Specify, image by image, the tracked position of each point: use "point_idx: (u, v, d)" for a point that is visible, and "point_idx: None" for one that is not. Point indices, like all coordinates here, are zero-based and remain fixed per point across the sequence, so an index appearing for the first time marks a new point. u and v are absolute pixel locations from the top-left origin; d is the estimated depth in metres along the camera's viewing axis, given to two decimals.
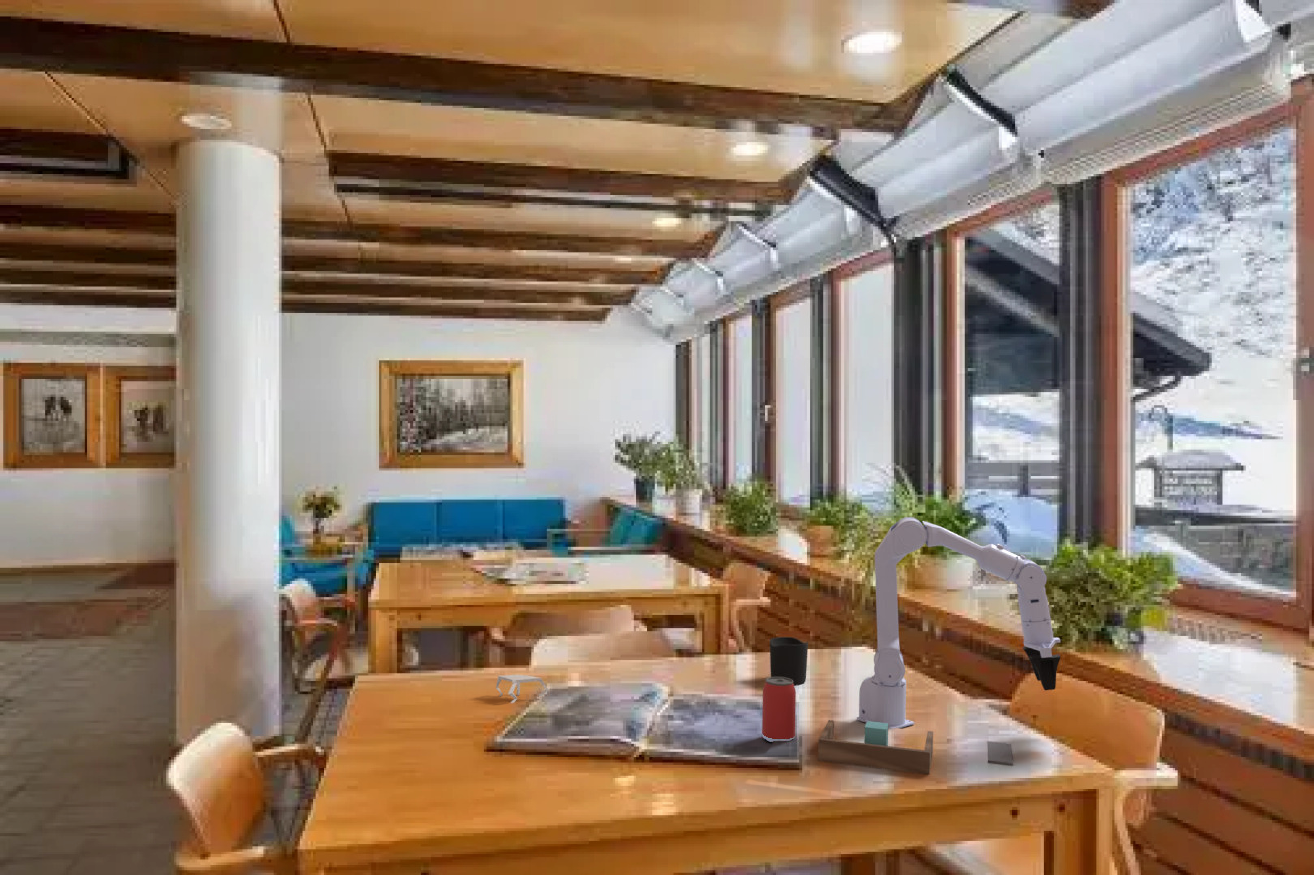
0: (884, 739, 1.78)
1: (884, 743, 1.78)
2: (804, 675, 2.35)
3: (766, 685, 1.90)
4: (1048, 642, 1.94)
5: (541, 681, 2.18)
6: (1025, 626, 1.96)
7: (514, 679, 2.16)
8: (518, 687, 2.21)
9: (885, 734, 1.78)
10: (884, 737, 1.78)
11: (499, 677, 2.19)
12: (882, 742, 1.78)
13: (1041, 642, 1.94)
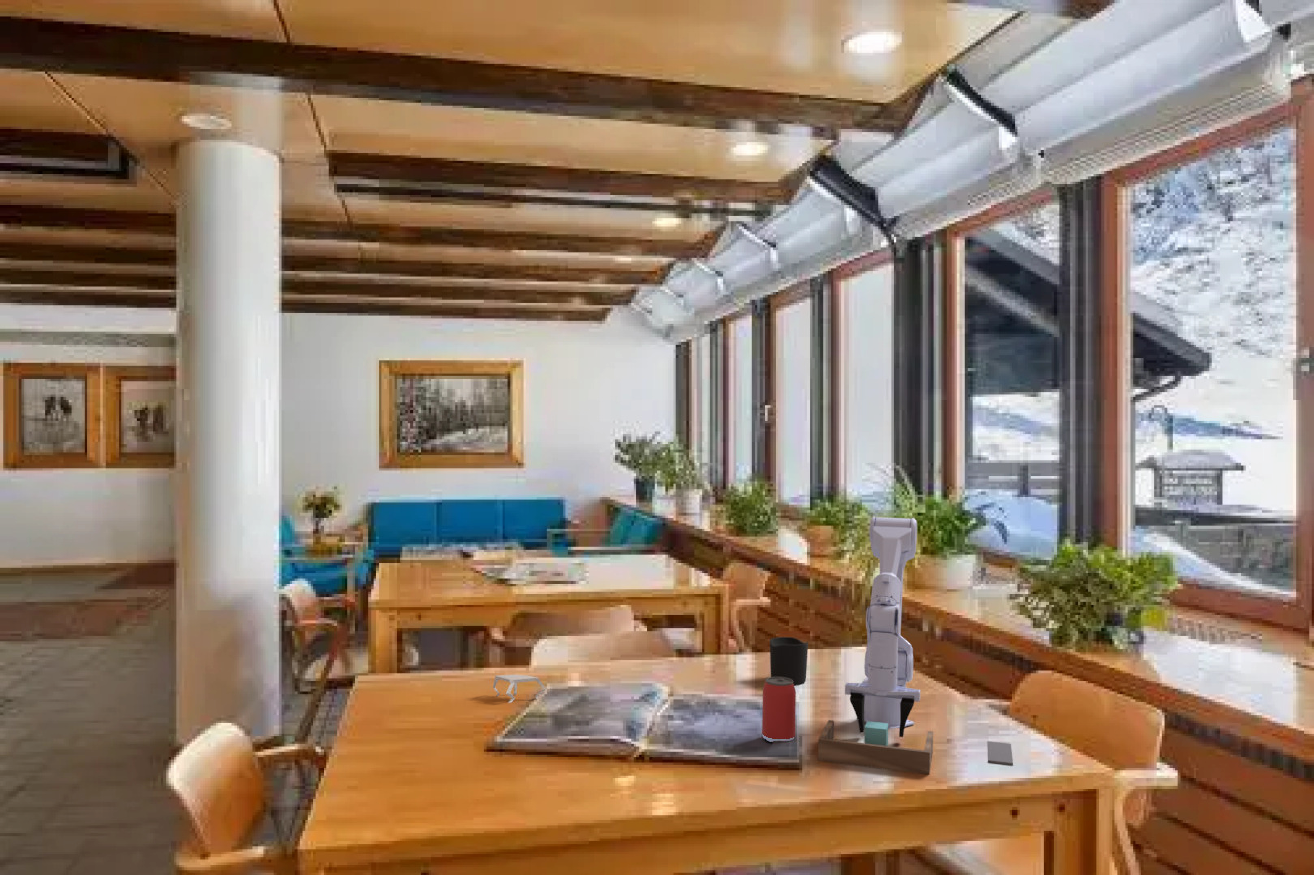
0: (884, 739, 1.78)
1: (884, 743, 1.78)
2: (804, 675, 2.35)
3: (766, 685, 1.90)
4: (868, 687, 1.89)
5: (538, 681, 2.18)
6: None
7: (511, 679, 2.16)
8: (515, 687, 2.21)
9: (885, 734, 1.78)
10: (884, 737, 1.78)
11: (496, 677, 2.19)
12: (882, 742, 1.78)
13: (867, 685, 1.91)
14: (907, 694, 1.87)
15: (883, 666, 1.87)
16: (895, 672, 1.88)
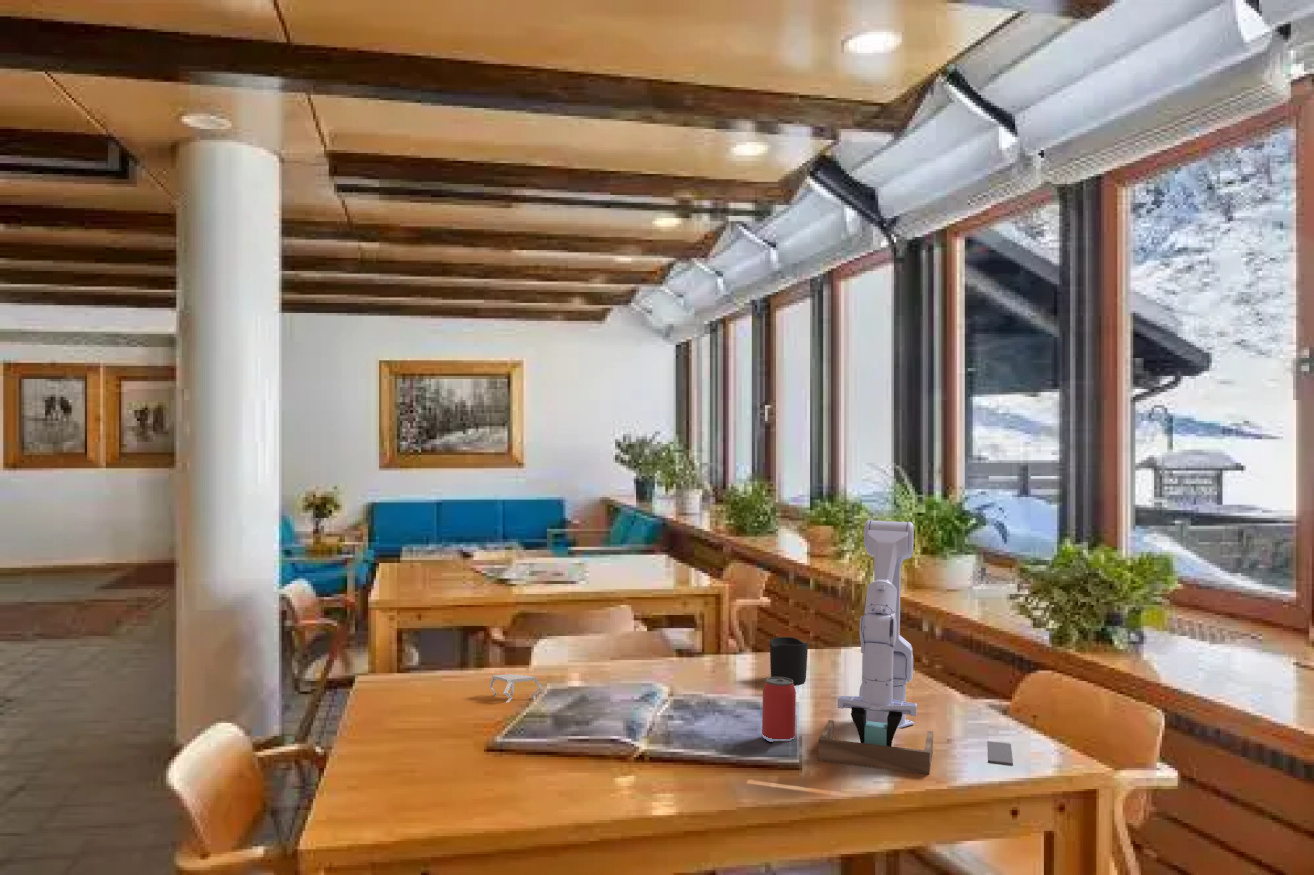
0: (884, 739, 1.78)
1: (884, 743, 1.78)
2: (804, 675, 2.35)
3: (766, 685, 1.90)
4: (862, 701, 1.80)
5: (536, 680, 2.18)
6: None
7: (509, 679, 2.16)
8: (512, 686, 2.21)
9: (885, 734, 1.78)
10: (884, 737, 1.78)
11: (493, 677, 2.19)
12: (882, 742, 1.78)
13: (861, 698, 1.81)
14: (903, 708, 1.77)
15: (878, 679, 1.77)
16: (891, 685, 1.78)
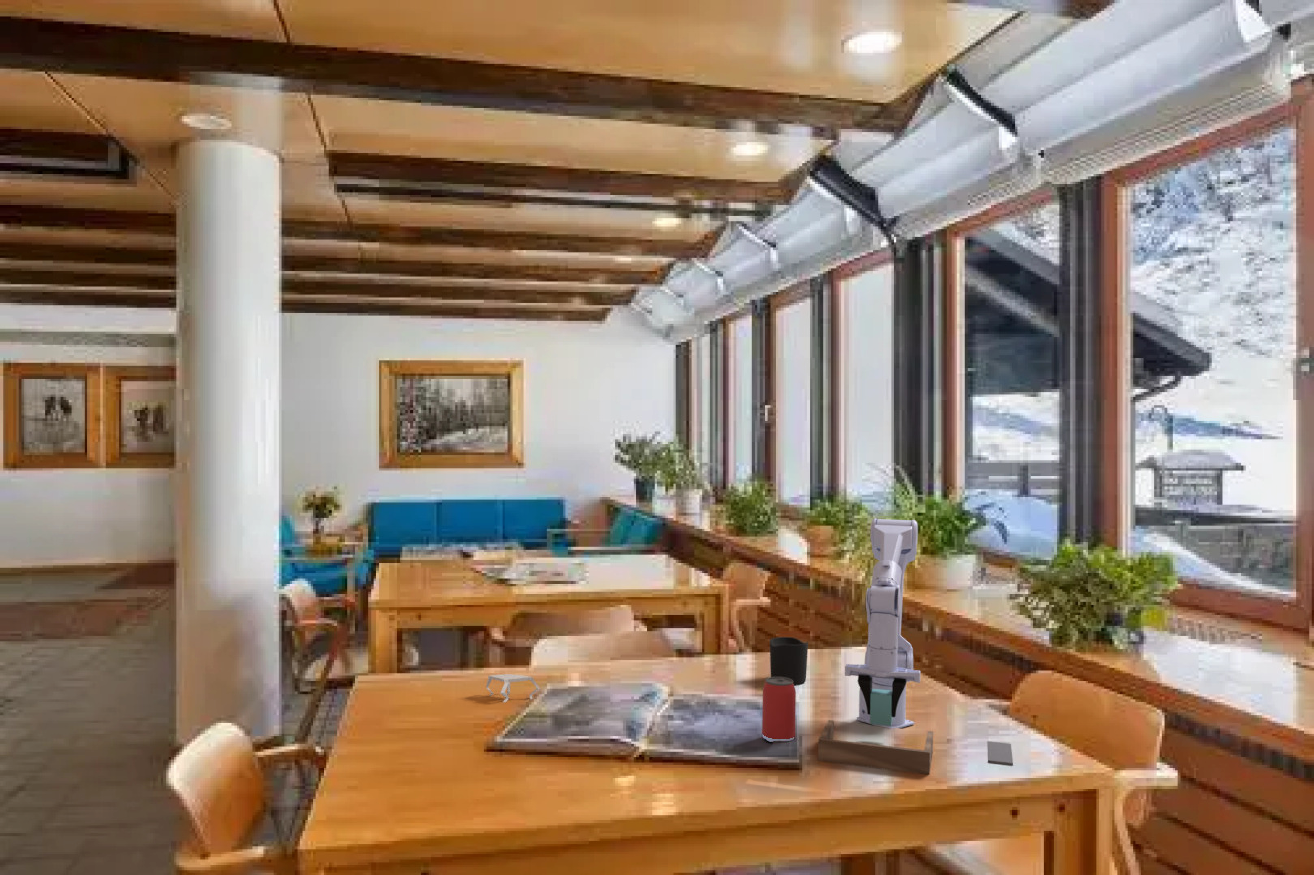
0: (889, 705, 1.87)
1: (889, 709, 1.87)
2: (804, 675, 2.35)
3: (766, 685, 1.90)
4: (868, 668, 1.89)
5: (532, 680, 2.19)
6: None
7: (505, 678, 2.17)
8: (508, 686, 2.21)
9: (890, 700, 1.87)
10: (889, 703, 1.87)
11: (490, 677, 2.19)
12: (887, 708, 1.87)
13: (867, 666, 1.90)
14: (907, 675, 1.86)
15: (883, 647, 1.87)
16: (895, 653, 1.88)
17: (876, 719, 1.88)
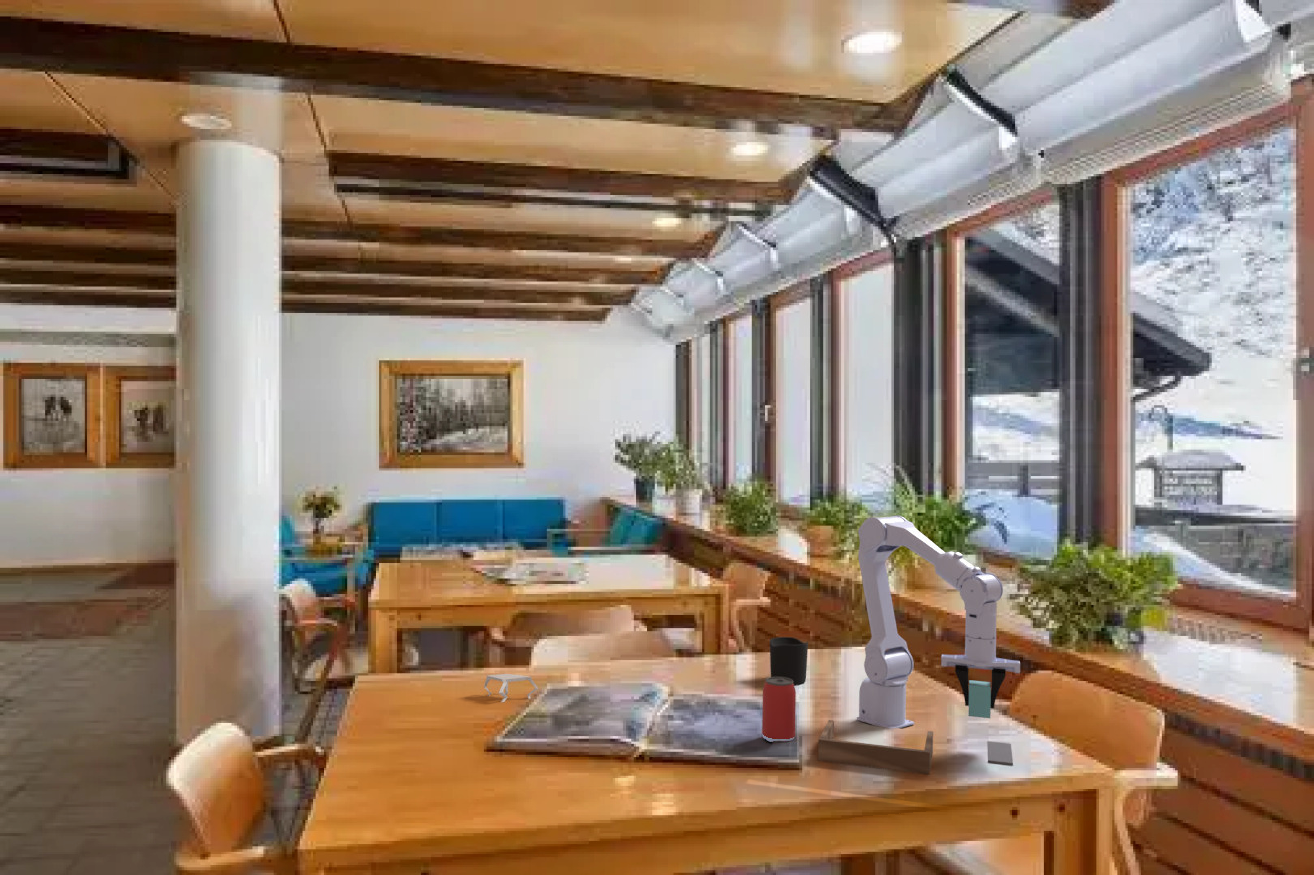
0: (988, 696, 1.83)
1: (988, 700, 1.83)
2: (804, 675, 2.35)
3: (766, 685, 1.90)
4: (966, 659, 1.85)
5: (530, 680, 2.19)
6: None
7: (504, 678, 2.17)
8: (506, 686, 2.21)
9: (989, 692, 1.83)
10: (988, 694, 1.83)
11: (488, 677, 2.19)
12: (986, 699, 1.83)
13: (964, 656, 1.87)
14: (1007, 665, 1.83)
15: (994, 636, 1.84)
16: (994, 643, 1.84)
17: (975, 711, 1.84)
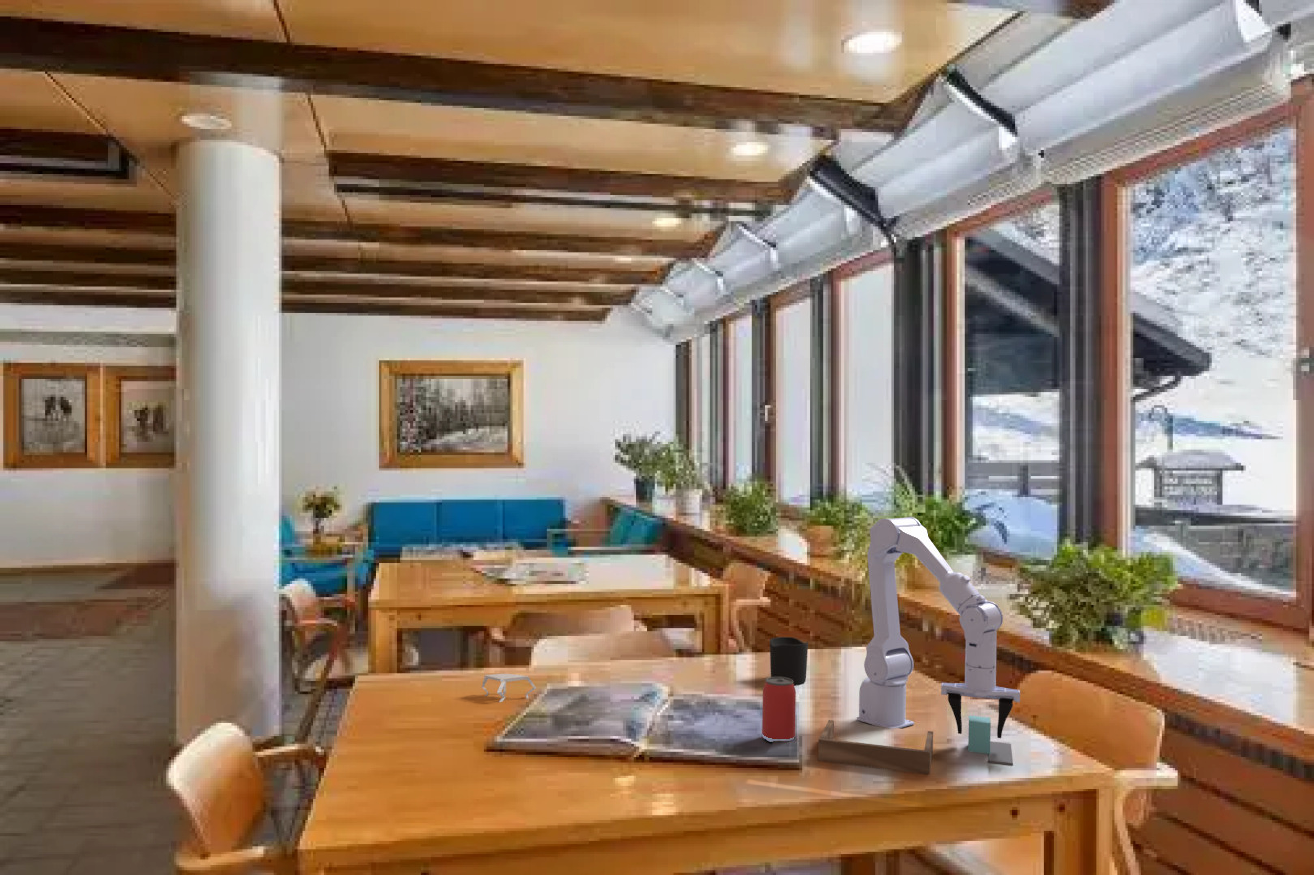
0: (988, 733, 1.83)
1: (988, 737, 1.83)
2: (804, 675, 2.35)
3: (766, 685, 1.90)
4: (966, 688, 1.85)
5: (528, 679, 2.19)
6: None
7: (502, 678, 2.17)
8: (504, 686, 2.21)
9: (989, 728, 1.83)
10: (988, 731, 1.83)
11: (485, 676, 2.19)
12: (986, 736, 1.83)
13: (964, 685, 1.87)
14: (1007, 694, 1.83)
15: (994, 665, 1.84)
16: (994, 672, 1.84)
17: (974, 747, 1.84)
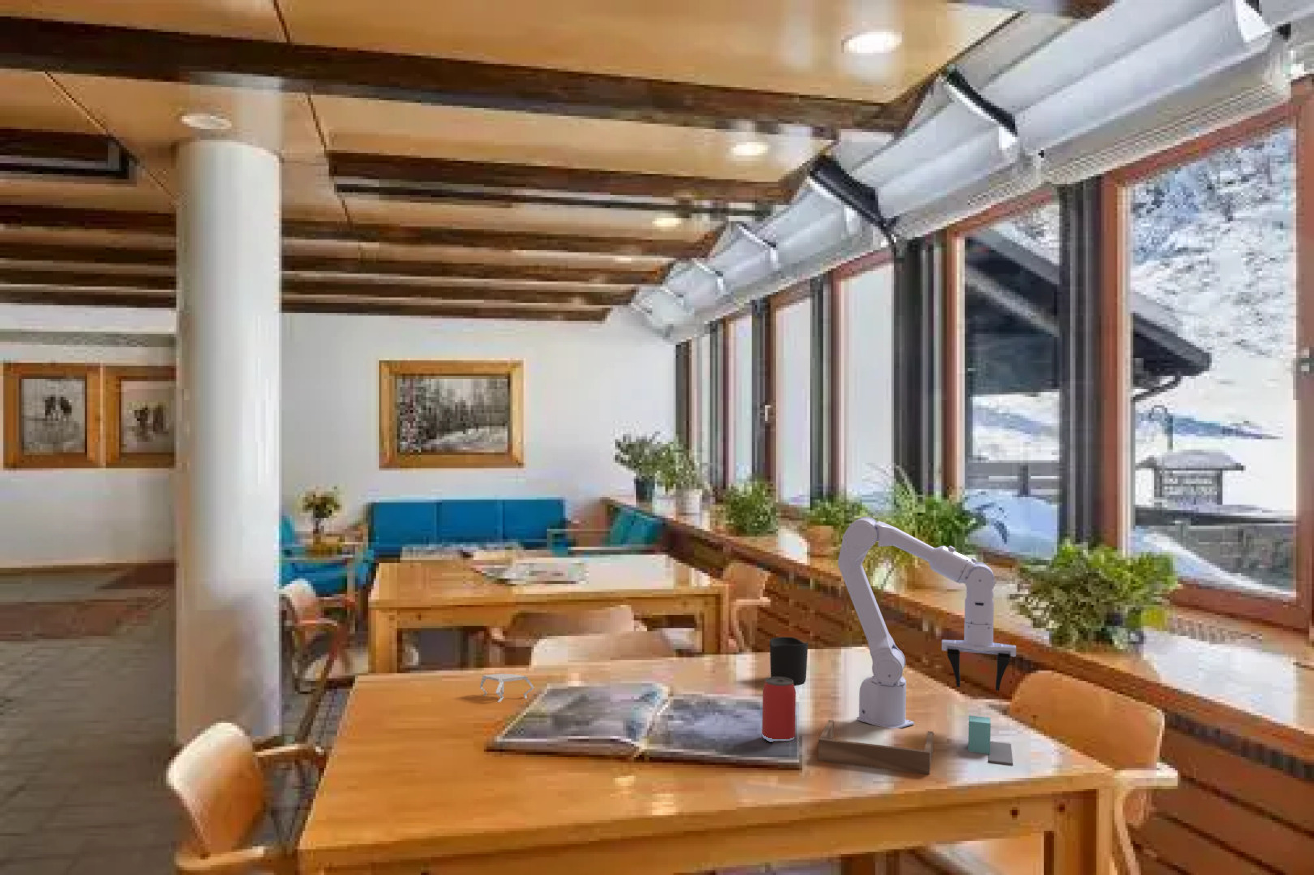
0: (988, 733, 1.83)
1: (988, 737, 1.83)
2: (804, 675, 2.35)
3: (766, 685, 1.90)
4: (965, 643, 1.97)
5: (527, 679, 2.19)
6: None
7: (500, 678, 2.17)
8: (502, 686, 2.22)
9: (989, 728, 1.83)
10: (988, 731, 1.83)
11: (484, 676, 2.19)
12: (986, 736, 1.83)
13: (963, 641, 1.98)
14: (1004, 649, 1.95)
15: None
16: (992, 629, 1.96)
17: (974, 747, 1.84)
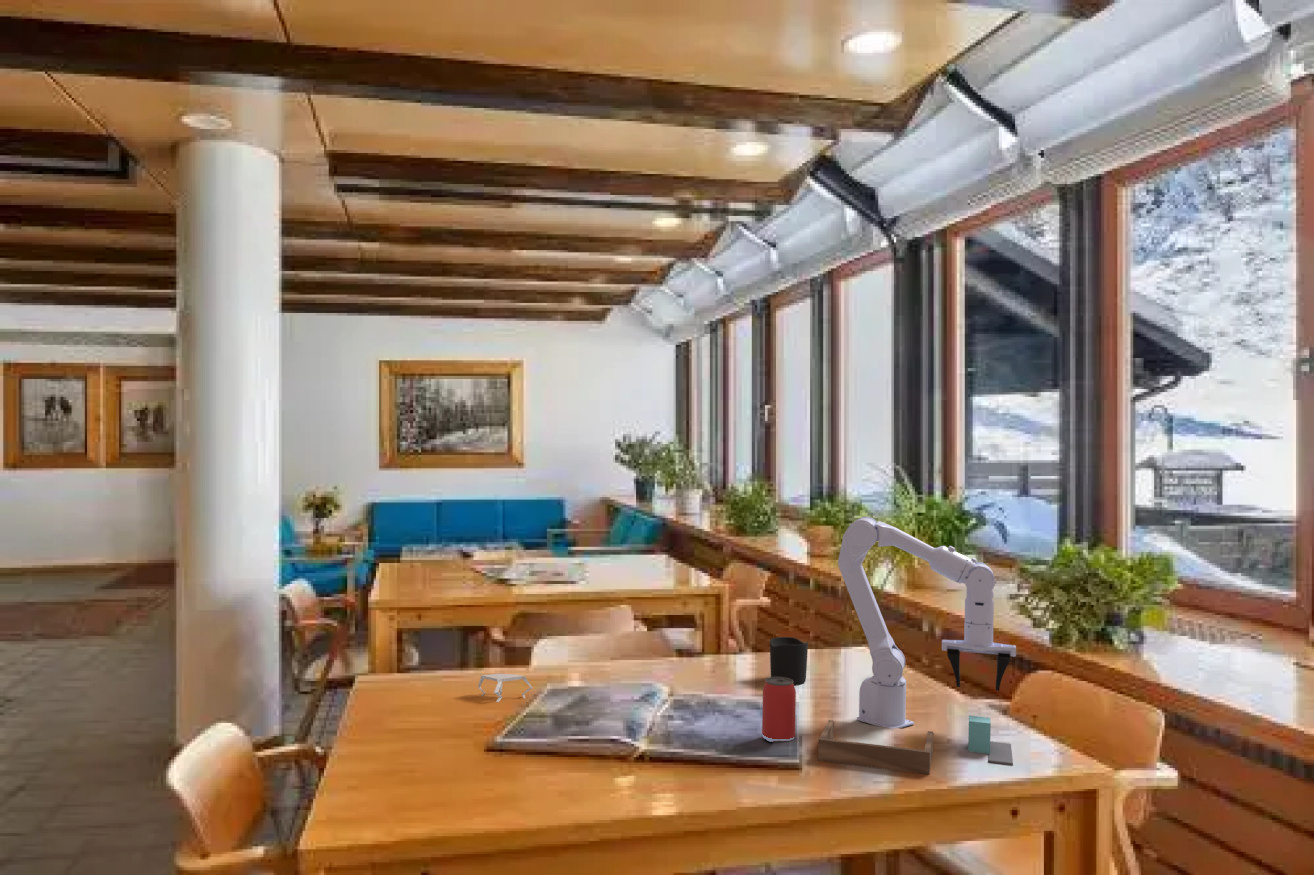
0: (988, 733, 1.83)
1: (988, 737, 1.83)
2: (804, 675, 2.35)
3: (766, 685, 1.90)
4: (965, 643, 1.97)
5: (525, 679, 2.19)
6: None
7: (498, 678, 2.17)
8: (500, 686, 2.22)
9: (989, 728, 1.83)
10: (988, 731, 1.83)
11: (482, 676, 2.19)
12: (986, 736, 1.83)
13: (963, 641, 1.98)
14: (1004, 649, 1.95)
15: None
16: (992, 629, 1.96)
17: (974, 747, 1.84)
